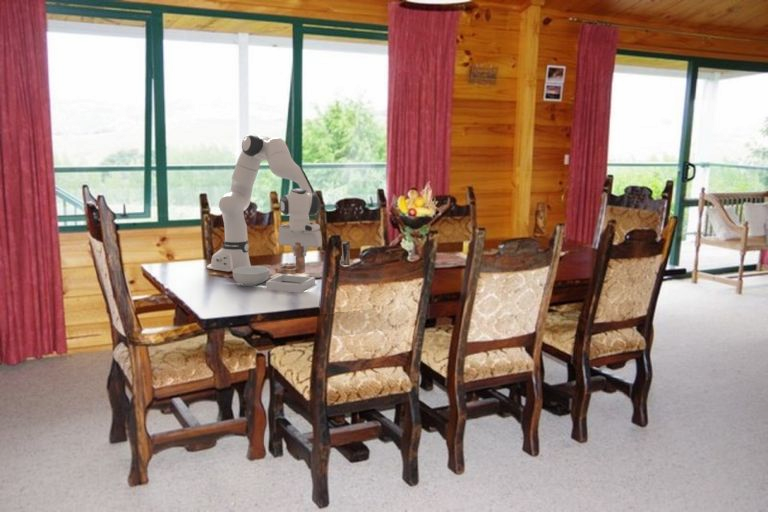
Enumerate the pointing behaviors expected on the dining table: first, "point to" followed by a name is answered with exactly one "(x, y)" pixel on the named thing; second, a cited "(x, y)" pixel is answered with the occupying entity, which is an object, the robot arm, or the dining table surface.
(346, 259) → the coffee box
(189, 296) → the dining table surface
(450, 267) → the dining table surface
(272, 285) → the grey tray
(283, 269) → the tabbed ring
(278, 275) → the stake board
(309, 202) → the robot arm
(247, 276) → the cereal bowl
